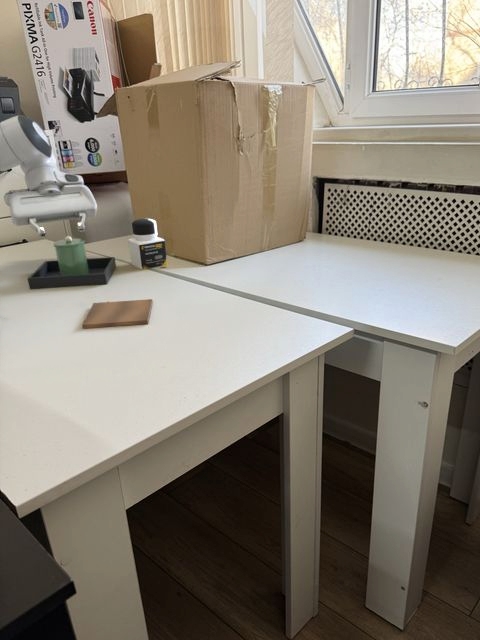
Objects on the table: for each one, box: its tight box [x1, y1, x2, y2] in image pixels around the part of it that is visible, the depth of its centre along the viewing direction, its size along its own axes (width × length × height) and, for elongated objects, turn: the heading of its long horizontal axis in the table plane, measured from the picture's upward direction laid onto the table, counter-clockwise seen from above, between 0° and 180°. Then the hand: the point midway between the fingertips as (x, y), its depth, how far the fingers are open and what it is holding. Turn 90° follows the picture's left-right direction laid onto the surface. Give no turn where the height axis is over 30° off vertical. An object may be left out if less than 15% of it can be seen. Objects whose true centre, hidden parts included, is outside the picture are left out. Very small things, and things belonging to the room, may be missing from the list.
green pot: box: [52, 235, 89, 276], centre depth 121 cm, size 7×7×10 cm
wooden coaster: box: [81, 298, 154, 329], centre depth 100 cm, size 12×12×1 cm
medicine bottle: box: [127, 218, 168, 270], centre depth 130 cm, size 7×7×12 cm
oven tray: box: [27, 256, 117, 290], centre depth 123 cm, size 17×15×3 cm
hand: (62, 233), depth 124 cm, fingers open, 8 cm apart
